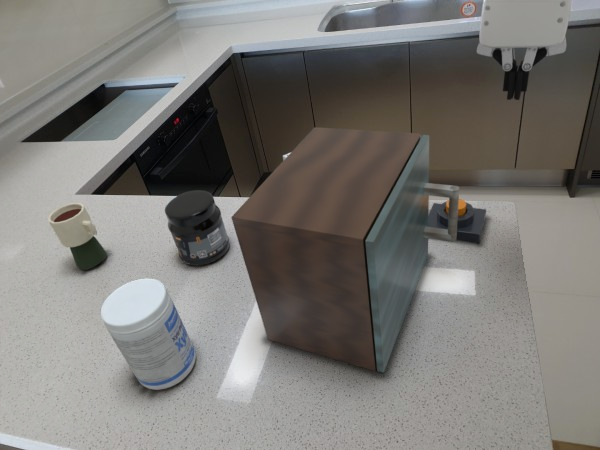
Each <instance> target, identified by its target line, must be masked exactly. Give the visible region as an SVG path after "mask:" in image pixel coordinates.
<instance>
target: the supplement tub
mask: <svg viewBox="0 0 600 450" xmlns="http://www.w3.org/2000/svg"><path fill="white" fill-rule="evenodd" d="M100 317H101V319H102V321H103V324H104V327H105V329H106V330H107V332H108V333H109V335H110V337H111V338H112V340H113V341H114V343H115V345H116V347H117V349H118V350H119V352H120V353H121V356H123V358H124V360H125V362H126V363H127V365H128V366H129V368H130V370H131V371H132V374H133V375H134V376H135V378H136V380H137V381H138V382H139V384H141V386H143V387H145V388H146V389H150V390H155V391H158V390H165V389H166V390H167V389H169V388H172V387H173V386H176V385H177V384H179V383H180V382H182V381H183V380H184V379H185V378H186V377H187V376H188V375H189V374H190V373H191V371H192V370H193V368H194V365H195V363H196V357H197V353H196V348H195V347H194V344H193V341H192V340H191V338H190V336H189V334H188V331H187V329H186V326H185V324H184V323H183V320H182V318H181V316H180V313H179V311H178V309H177V308H176V305H175V303H174V300H173V298H172V296H171V294H170V292H169V291H168V289H167V288H166V286H165V285H164V283H162V281H160V280H158V279H156V278H146V277H145V278H139V279H135V280H132V281H128V282H126V283H125V284H122V285H121V286H119V287H117V288H116V289H115V290H113V291H112V292H111V293H110V294H109V295H108V296H107V298H106V299H105V300H104V302H103V303H102V305H101V309H100Z"/></svg>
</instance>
